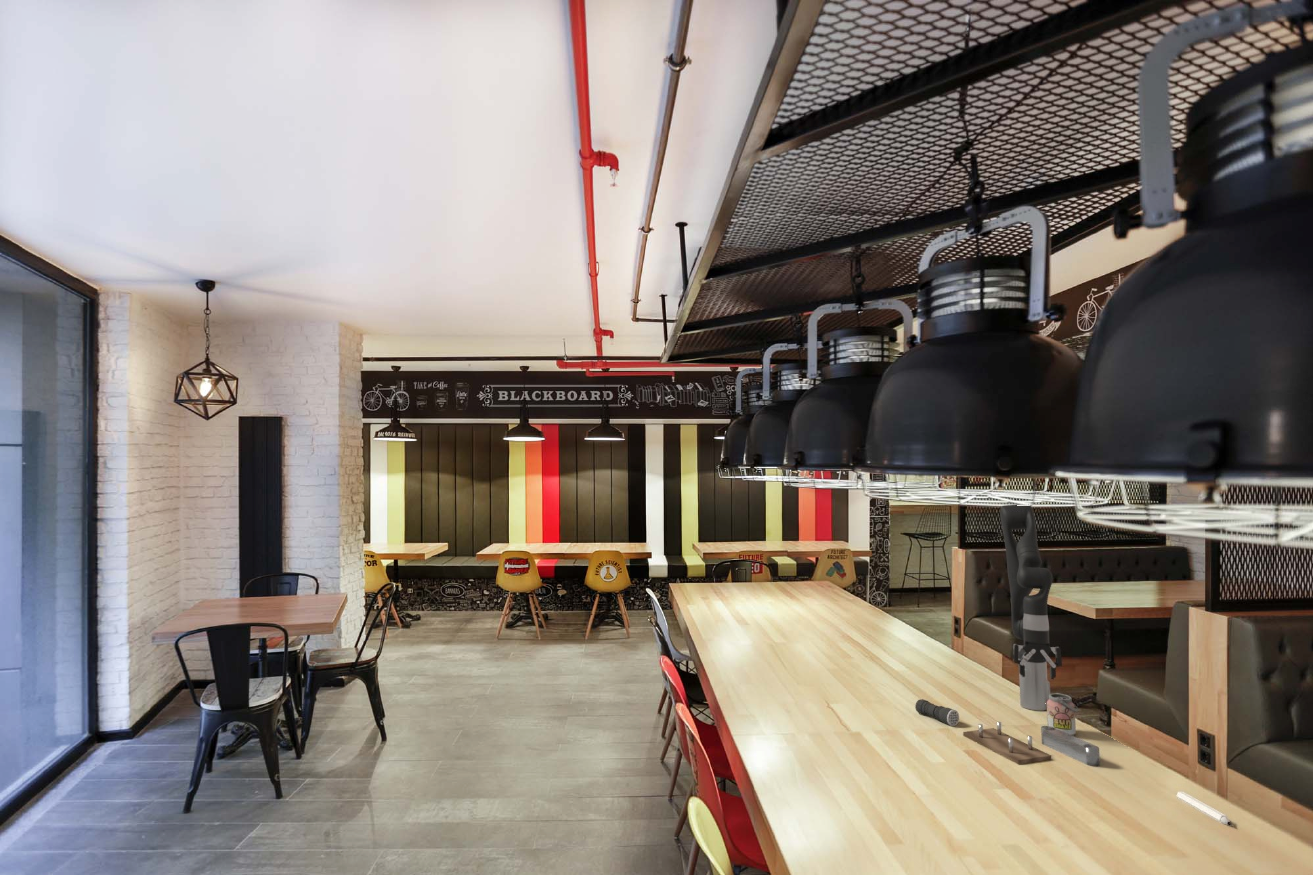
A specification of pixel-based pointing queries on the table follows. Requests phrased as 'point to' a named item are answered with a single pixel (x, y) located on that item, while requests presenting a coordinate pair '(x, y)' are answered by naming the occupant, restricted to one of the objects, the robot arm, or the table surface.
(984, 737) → the tool rest
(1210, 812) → the marker
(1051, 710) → the beverage can
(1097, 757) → the grey long metal bar
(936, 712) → the flashlight
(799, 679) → the table surface
